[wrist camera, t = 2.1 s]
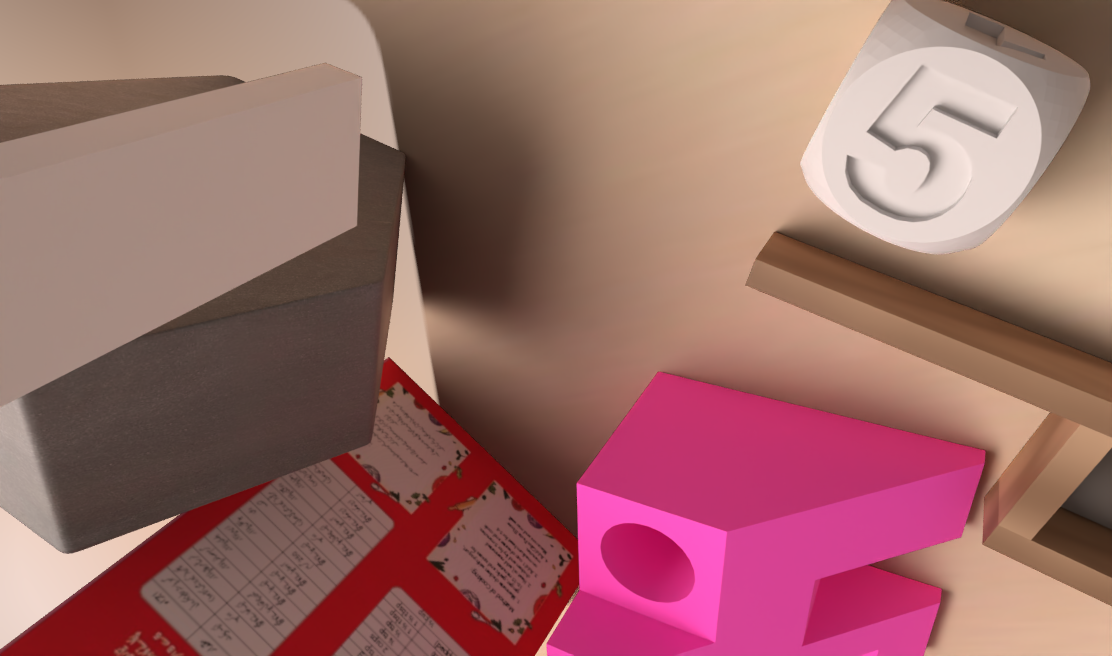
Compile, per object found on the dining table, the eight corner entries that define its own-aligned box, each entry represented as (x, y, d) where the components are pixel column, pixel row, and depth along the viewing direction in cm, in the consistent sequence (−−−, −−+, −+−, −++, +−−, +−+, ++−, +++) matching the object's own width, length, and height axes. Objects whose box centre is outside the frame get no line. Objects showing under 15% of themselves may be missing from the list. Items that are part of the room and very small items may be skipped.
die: (1085, 58, 20) (1104, 98, 16) (968, 215, 23) (959, 281, 19) (907, -18, 21) (884, 3, 17) (818, 143, 24) (781, 191, 20)
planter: (59, 196, 37) (-262, 541, 21) (26, 41, 33) (-416, 327, 17) (402, 240, 41) (352, 569, 24) (414, 104, 36) (364, 396, 20)
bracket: (651, 549, 36) (552, 733, 28) (659, 370, 31) (539, 533, 23) (923, 644, 31) (893, 901, 23) (985, 448, 26) (974, 692, 18)
